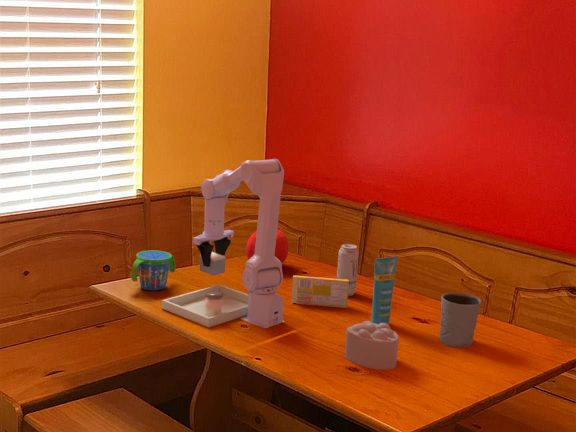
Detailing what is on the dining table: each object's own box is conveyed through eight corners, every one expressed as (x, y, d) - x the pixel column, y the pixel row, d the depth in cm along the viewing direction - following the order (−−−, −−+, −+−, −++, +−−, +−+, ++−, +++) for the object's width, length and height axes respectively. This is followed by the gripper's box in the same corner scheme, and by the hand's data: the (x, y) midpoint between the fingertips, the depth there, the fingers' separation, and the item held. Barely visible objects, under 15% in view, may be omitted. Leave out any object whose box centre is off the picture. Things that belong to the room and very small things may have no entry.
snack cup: (164, 278, 258) (165, 246, 256) (185, 287, 251) (186, 255, 248) (121, 287, 247) (121, 254, 245) (141, 297, 240) (141, 263, 238)
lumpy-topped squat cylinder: (366, 346, 214) (369, 314, 212) (406, 363, 205) (409, 330, 203) (339, 356, 207) (341, 323, 205) (379, 374, 198) (382, 339, 196)
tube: (375, 328, 226) (381, 260, 222) (364, 322, 230) (369, 256, 226) (396, 324, 230) (402, 257, 226) (385, 318, 234) (390, 253, 230)
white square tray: (265, 310, 235) (265, 300, 234) (208, 329, 219) (208, 318, 218) (218, 293, 247) (219, 284, 246) (161, 310, 230) (162, 300, 230)
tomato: (271, 259, 284) (273, 220, 281) (297, 270, 274) (299, 229, 271) (234, 266, 274) (236, 225, 271) (260, 277, 264) (262, 235, 261)
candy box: (347, 306, 243) (349, 279, 241) (346, 308, 241) (349, 281, 239) (291, 301, 244) (293, 274, 242) (291, 303, 242) (292, 276, 240)
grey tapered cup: (429, 338, 221) (433, 296, 218) (453, 331, 228) (458, 289, 225) (459, 351, 214) (464, 307, 211) (483, 343, 220) (489, 300, 217)
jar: (225, 317, 226) (226, 294, 224) (213, 322, 222) (214, 297, 221) (213, 313, 229) (214, 289, 227) (201, 317, 225) (202, 293, 224)
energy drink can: (349, 298, 250) (353, 250, 246) (332, 293, 253) (335, 246, 249) (358, 293, 255) (362, 246, 251) (341, 289, 258) (345, 242, 254)
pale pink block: (225, 272, 246) (225, 256, 245) (213, 275, 242) (214, 259, 241) (210, 267, 250) (211, 251, 248) (199, 270, 246) (199, 254, 245)
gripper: (222, 213, 250) (221, 257, 253) (186, 220, 239) (185, 265, 242) (239, 218, 246) (237, 262, 249) (203, 225, 235) (201, 271, 238)
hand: (212, 264), depth 245 cm, fingers closed on pale pink block, 4 cm apart
